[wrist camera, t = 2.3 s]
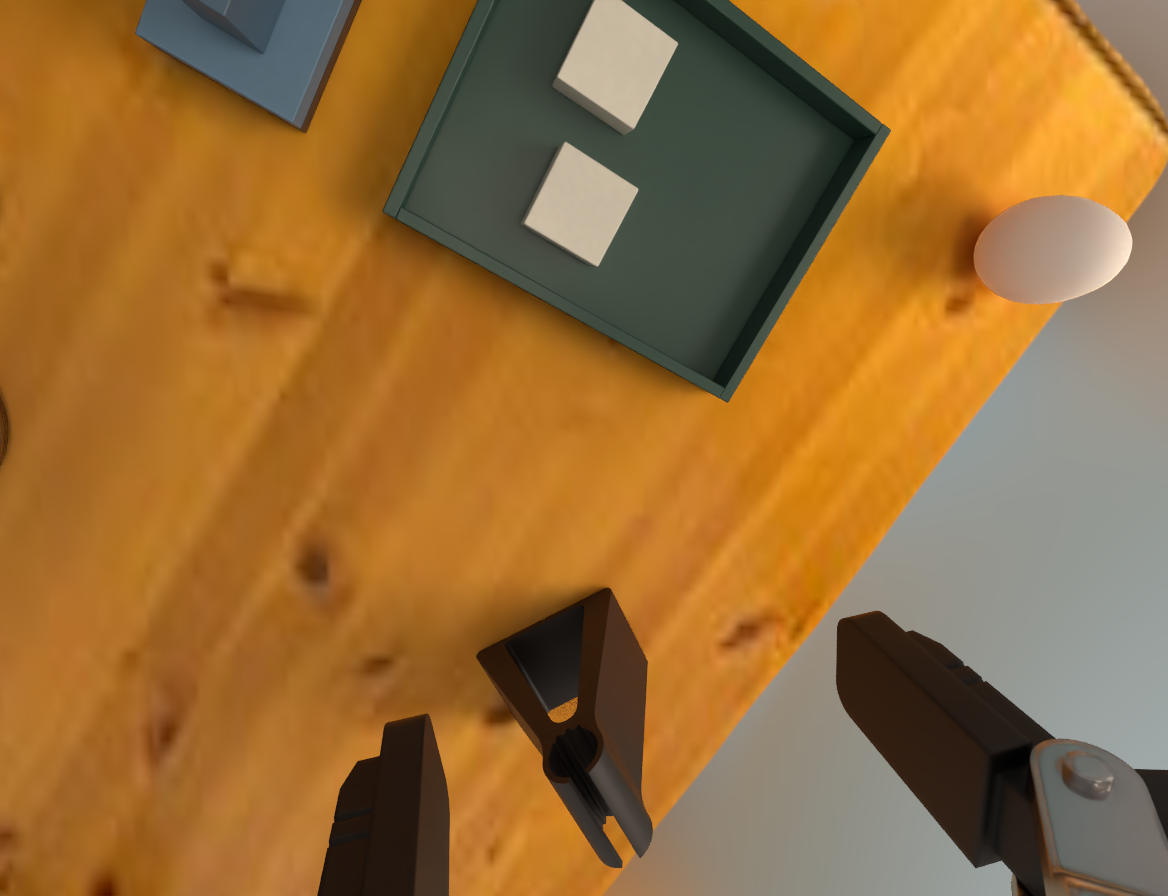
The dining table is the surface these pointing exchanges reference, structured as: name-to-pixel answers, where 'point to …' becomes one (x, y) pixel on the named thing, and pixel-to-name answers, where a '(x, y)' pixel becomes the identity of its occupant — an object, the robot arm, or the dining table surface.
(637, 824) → the dark grey a-frame stand
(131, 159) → the dining table surface
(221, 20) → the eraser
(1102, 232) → the egg
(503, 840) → the dining table surface
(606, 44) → the cream slab tile
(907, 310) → the dining table surface
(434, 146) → the tray
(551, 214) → the beige square tile
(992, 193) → the dining table surface
